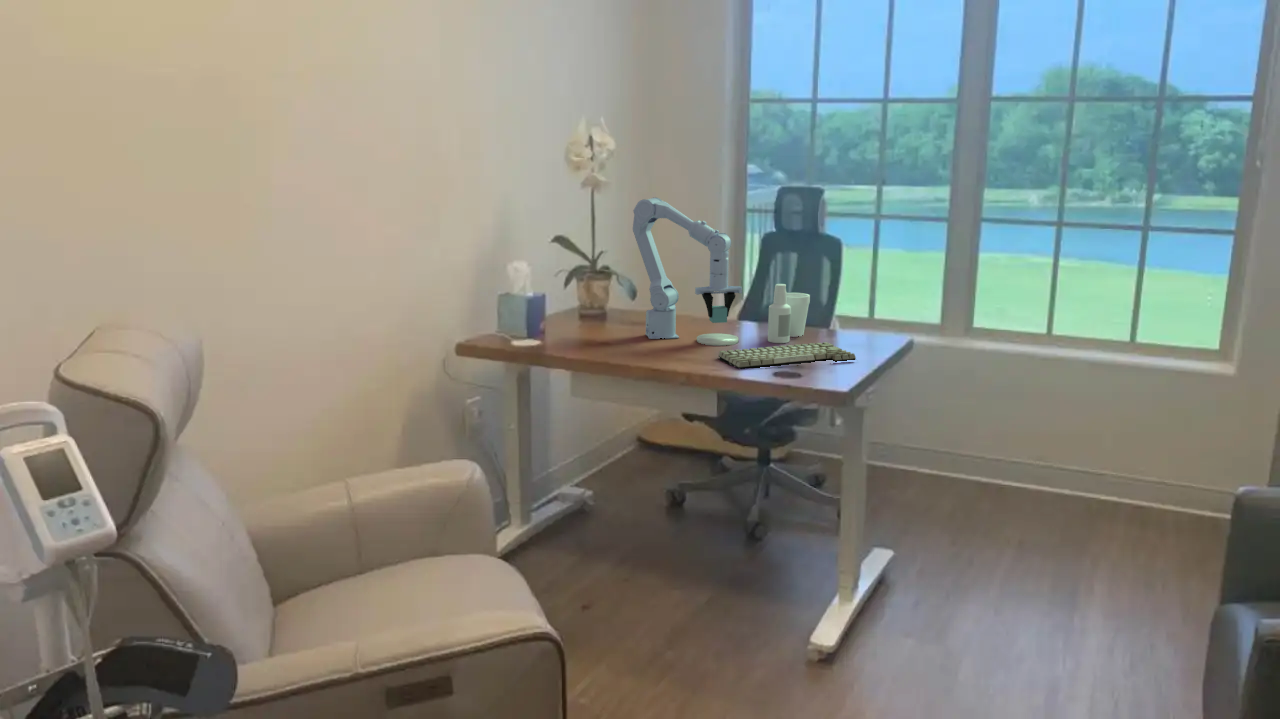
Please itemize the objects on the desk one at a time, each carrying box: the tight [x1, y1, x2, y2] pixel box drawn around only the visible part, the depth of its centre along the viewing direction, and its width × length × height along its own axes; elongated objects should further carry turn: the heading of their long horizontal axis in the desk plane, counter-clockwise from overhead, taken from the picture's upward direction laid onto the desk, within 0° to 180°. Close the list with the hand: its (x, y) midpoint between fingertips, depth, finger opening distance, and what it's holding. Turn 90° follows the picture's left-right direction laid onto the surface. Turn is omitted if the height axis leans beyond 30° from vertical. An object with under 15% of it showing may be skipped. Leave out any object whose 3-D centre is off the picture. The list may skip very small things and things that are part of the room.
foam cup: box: [786, 292, 811, 338], centre depth 327 cm, size 10×9×13 cm
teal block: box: [708, 305, 728, 324], centre depth 316 cm, size 4×4×4 cm
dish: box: [696, 332, 739, 347], centre depth 318 cm, size 13×13×1 cm
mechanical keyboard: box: [716, 341, 857, 370], centre depth 294 cm, size 38×19×3 cm, turn 110°
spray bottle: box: [767, 283, 791, 344], centre depth 317 cm, size 7×7×18 cm
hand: (718, 316), depth 317 cm, fingers closed on teal block, 4 cm apart
